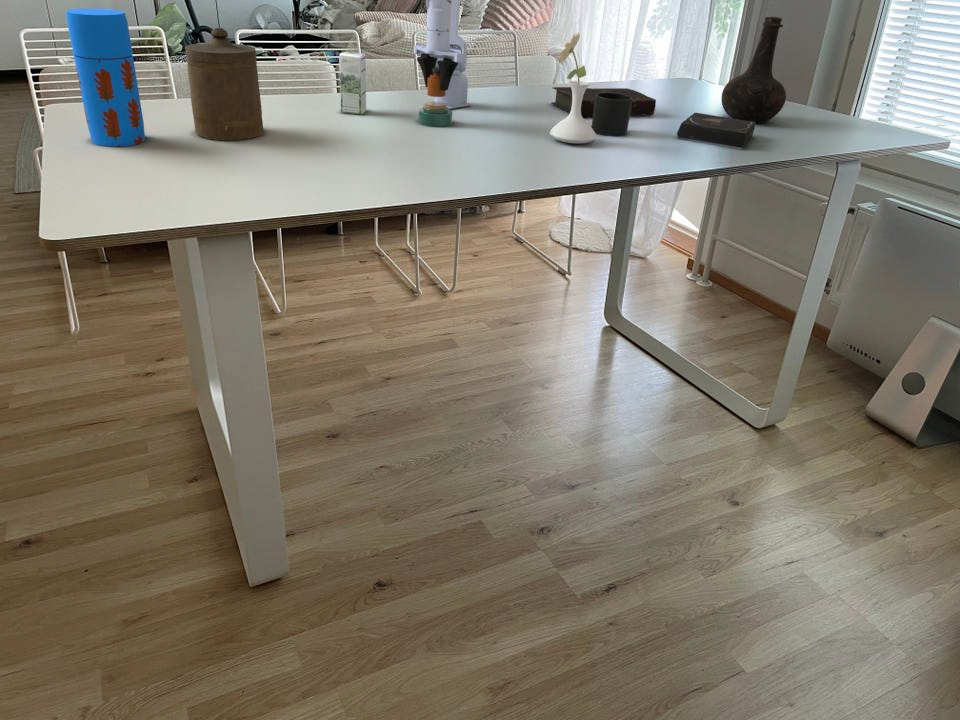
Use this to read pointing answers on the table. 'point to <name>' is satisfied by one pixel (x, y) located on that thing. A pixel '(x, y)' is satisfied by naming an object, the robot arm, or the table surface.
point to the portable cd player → (716, 130)
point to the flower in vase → (574, 104)
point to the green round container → (435, 114)
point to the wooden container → (224, 89)
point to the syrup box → (352, 82)
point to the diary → (639, 100)
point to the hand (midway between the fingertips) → (436, 88)
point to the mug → (611, 114)
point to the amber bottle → (435, 84)
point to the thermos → (106, 76)
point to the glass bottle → (757, 82)
